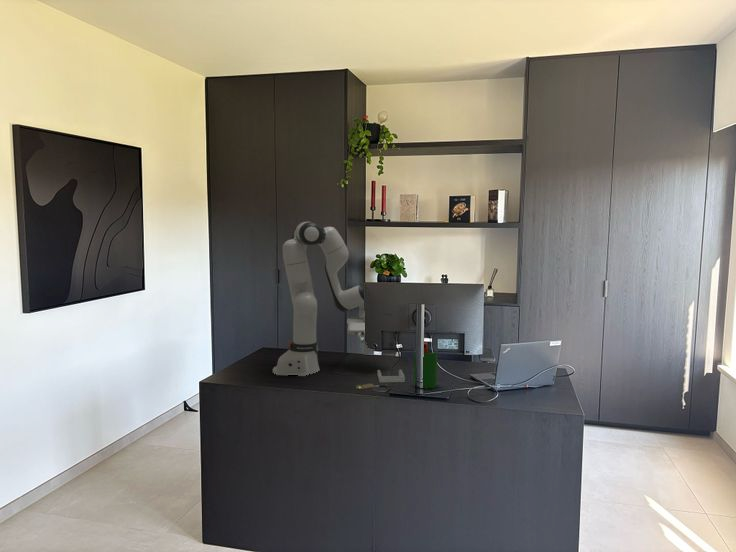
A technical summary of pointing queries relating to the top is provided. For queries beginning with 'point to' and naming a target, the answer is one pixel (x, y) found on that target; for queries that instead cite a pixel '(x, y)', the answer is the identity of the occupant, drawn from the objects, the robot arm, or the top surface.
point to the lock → (365, 349)
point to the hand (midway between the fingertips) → (368, 342)
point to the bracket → (391, 377)
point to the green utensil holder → (428, 368)
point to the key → (364, 386)
